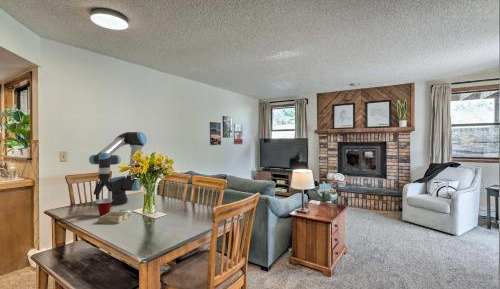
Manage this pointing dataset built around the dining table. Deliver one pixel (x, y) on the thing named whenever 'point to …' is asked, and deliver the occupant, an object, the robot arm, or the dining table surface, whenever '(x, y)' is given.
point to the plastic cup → (104, 206)
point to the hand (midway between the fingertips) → (104, 201)
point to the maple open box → (113, 217)
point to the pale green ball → (126, 211)
